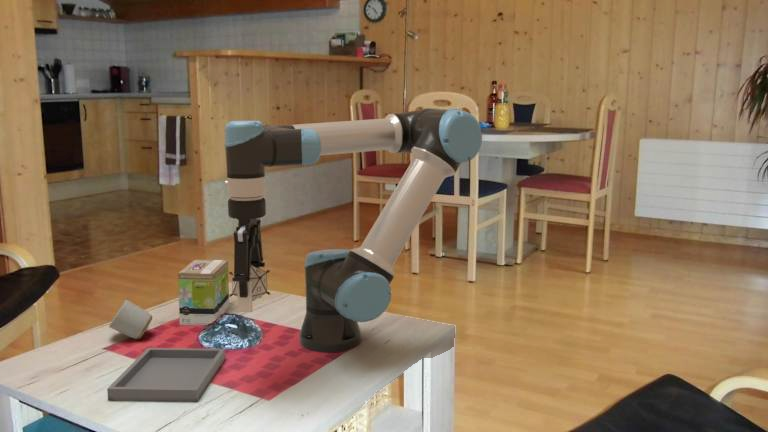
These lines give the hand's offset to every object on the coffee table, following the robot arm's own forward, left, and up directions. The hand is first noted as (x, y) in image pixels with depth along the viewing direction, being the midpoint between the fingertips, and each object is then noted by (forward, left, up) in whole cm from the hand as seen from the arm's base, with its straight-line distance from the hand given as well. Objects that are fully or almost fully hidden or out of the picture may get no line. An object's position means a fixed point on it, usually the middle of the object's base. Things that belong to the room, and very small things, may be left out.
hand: (250, 304), depth 144 cm
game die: (0, 0, -1) cm, 1 cm away
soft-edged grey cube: (+36, -26, -17) cm, 48 cm away
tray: (+18, -1, -17) cm, 25 cm away
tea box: (+22, -41, -18) cm, 50 cm away
